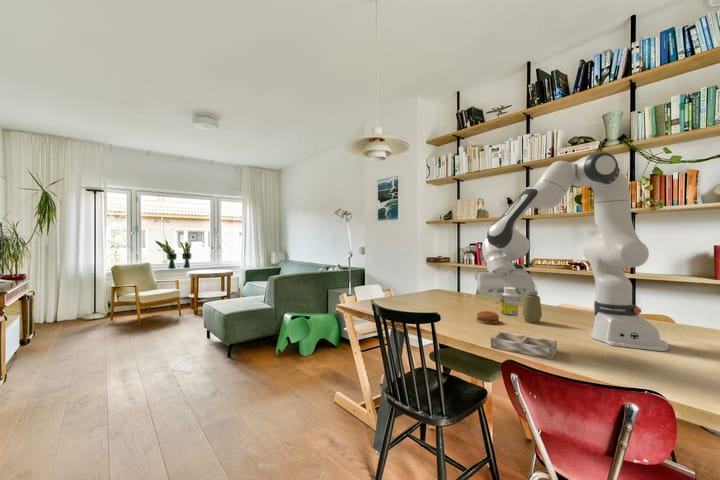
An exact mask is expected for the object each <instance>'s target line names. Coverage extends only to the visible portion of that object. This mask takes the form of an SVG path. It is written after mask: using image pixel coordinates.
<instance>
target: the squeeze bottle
mask: <svg viewBox="0 0 720 480" xmlns="http://www.w3.org/2000/svg"><path fill="white" fill-rule="evenodd" d="M535 288H536V287H535ZM535 288H534V290H533V291H532V292H531V293H525V295H524V296H523V303H522V315H523V320H524V321H525V322H526V323H530V324H538V323H540V321H541V318H542V316H543V313H542V306H541V305H542V303H541V297H540V296H539V295H538V294H539V293H538V291H537V290H536V289H535Z"/></svg>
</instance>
